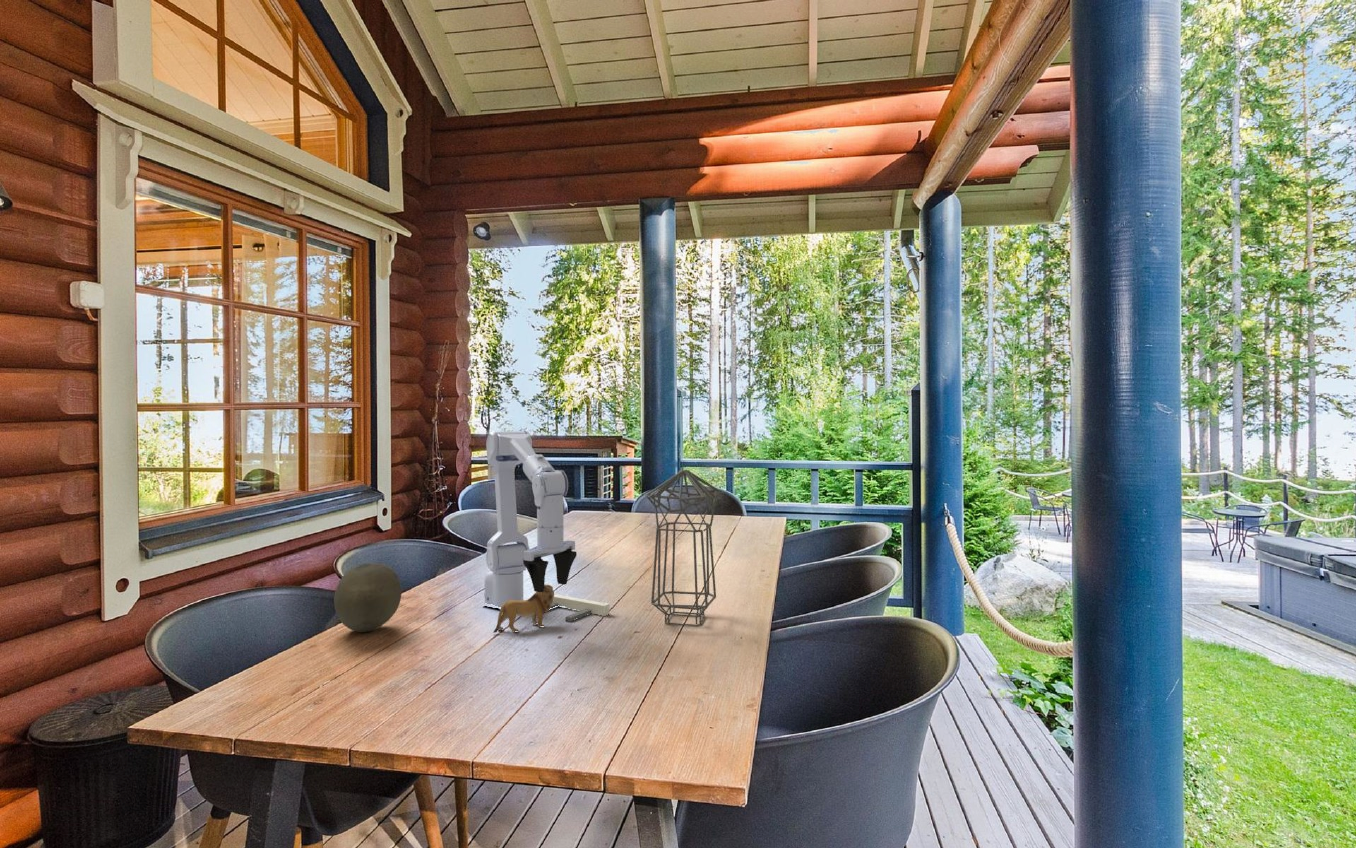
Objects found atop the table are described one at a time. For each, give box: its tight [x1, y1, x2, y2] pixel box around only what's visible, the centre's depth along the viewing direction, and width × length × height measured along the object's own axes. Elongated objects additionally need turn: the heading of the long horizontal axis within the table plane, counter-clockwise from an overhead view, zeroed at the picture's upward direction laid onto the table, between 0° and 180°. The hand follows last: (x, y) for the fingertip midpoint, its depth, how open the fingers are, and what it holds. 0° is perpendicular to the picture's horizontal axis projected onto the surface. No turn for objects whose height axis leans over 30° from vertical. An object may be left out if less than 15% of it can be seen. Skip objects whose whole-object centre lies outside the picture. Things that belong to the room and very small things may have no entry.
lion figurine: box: [492, 583, 555, 634], centre depth 149 cm, size 15×5×9 cm, turn 130°
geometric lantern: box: [645, 469, 722, 627], centre depth 155 cm, size 16×16×35 cm
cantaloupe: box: [333, 562, 403, 633], centre depth 148 cm, size 14×14×15 cm
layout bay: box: [550, 593, 611, 622], centre depth 161 cm, size 20×10×2 cm, turn 58°
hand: (550, 587), depth 147 cm, fingers open, 7 cm apart
